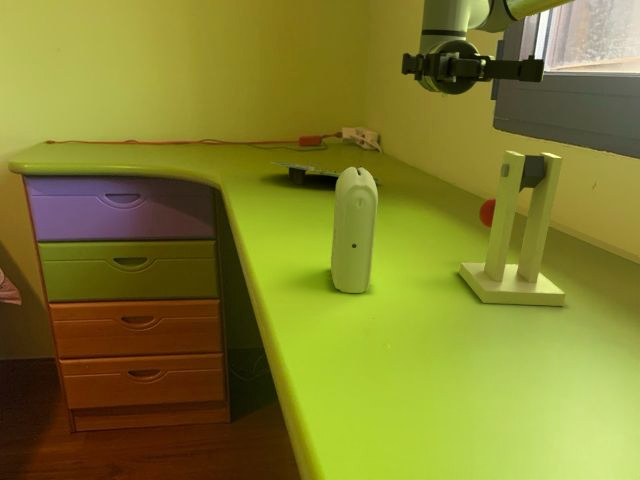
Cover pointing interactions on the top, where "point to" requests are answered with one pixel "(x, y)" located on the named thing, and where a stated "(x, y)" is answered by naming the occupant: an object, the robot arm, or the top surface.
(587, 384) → the top surface
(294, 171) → the city model
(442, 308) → the top surface
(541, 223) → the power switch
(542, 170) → the switch lever
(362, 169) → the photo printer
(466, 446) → the top surface
